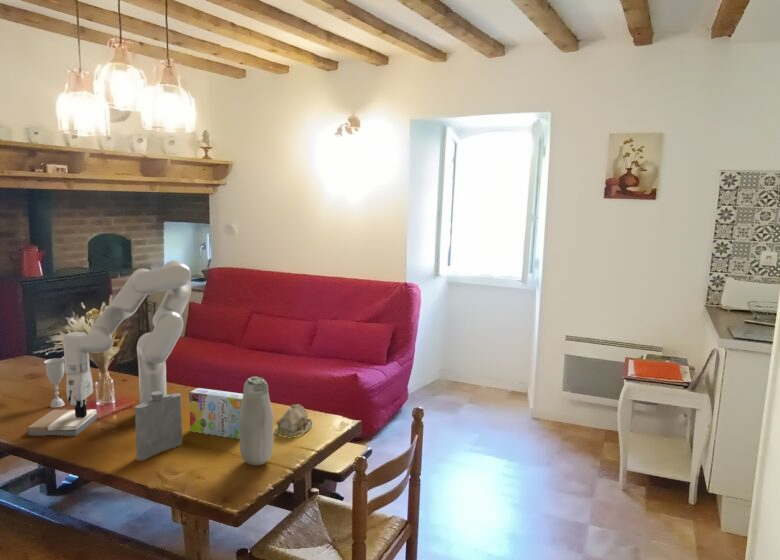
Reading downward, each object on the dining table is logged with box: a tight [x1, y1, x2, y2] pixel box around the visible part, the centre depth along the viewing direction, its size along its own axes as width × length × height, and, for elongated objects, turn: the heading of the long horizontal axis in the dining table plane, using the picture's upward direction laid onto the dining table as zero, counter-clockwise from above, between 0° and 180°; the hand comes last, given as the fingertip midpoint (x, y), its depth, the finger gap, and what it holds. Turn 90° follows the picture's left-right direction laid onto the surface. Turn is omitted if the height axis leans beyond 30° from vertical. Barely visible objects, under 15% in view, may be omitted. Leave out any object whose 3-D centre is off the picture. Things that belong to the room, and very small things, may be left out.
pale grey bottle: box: [239, 376, 274, 466], centre depth 174 cm, size 10×10×28 cm
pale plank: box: [47, 408, 98, 431], centre depth 198 cm, size 10×15×2 cm, turn 3°
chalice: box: [43, 357, 66, 409], centre depth 216 cm, size 7×7×18 cm
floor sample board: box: [27, 409, 99, 437], centre depth 198 cm, size 16×16×3 cm
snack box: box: [189, 387, 243, 440], centre depth 196 cm, size 21×6×15 cm, turn 74°
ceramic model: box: [273, 403, 313, 438], centre depth 201 cm, size 14×11×10 cm
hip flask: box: [134, 391, 183, 462], centre depth 181 cm, size 16×4×20 cm, turn 146°
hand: (81, 416), depth 199 cm, fingers closed
